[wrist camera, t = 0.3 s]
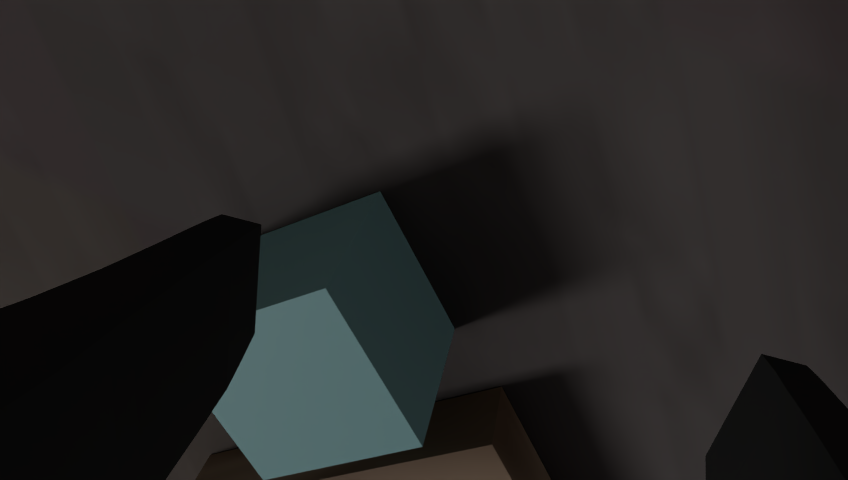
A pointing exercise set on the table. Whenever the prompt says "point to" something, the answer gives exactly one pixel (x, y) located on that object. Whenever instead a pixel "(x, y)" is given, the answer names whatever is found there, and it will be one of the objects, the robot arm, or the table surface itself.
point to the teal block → (337, 345)
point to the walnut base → (429, 449)
